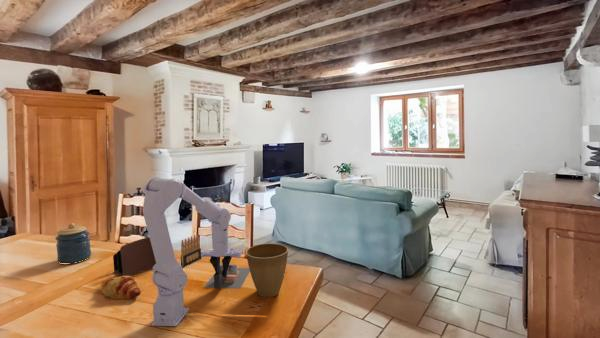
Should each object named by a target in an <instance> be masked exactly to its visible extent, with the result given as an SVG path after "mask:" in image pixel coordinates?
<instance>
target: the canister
mask: <svg viewBox="0 0 600 338" xmlns="http://www.w3.org/2000/svg"><path fill="white" fill-rule="evenodd" d="M56 234H57V236H55V241H56V245H55V247H56V251H57V252H56V253H57V258H56V259H57V262H58V263H59V262H60V263H75V262H79V261H82V260H85V259H87V258H89V257H90V256H91V257H92V250H91V242H90V241H91V239H90V238H89V237H90V236H89V235H90V231H88V230H87V227H86V226H83V225H76V224H75V223H74V222H70V223H69V224H68V225H67V226H66V227H62V228H60V230H59V231H57V232H56ZM91 257H90V258H91ZM90 258H89V259H90ZM87 260H88V259H87ZM85 261H86V260H85ZM75 264H76V263H75Z"/></svg>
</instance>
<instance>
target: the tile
mask: <svg viewBox="0 0 600 338" xmlns="http://www.w3.org/2000/svg"><path fill="white" fill-rule="evenodd" d="M238 276H239V271H237V275H228V276H227V279H226V280H225V283H234V282H235V280H236V279H237V277H238Z"/></svg>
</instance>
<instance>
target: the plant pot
mask: <svg viewBox="0 0 600 338" xmlns="http://www.w3.org/2000/svg"><path fill="white" fill-rule="evenodd" d="M245 254H246V260H247V266H248V268H249V269H250V272H249V273H250V276H251V278H252V282H253V284H254V288H255V289H256V292H257V294H258V295H259V296H261V297H264V298H271V297H273V298H274V297H277V296H278V294H279V293H280V291H281V288H282V284H283V281H284V278H285V272H286V269H287V261H288V254H289V248H288V247H287V246H286V245H284V244H281V243H270V242H269V243H261V244H256V245H253V246H251V247H248V248H247V249H246V250H245Z"/></svg>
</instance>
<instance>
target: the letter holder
mask: <svg viewBox="0 0 600 338" xmlns="http://www.w3.org/2000/svg"><path fill="white" fill-rule="evenodd" d="M112 260H113V272H114V273H116V274H117V275H118V276H119V277H122V276H131V277H132V276H134V275H137V274H140V273H143V272H146V271H149V269H150V270H153V266H154V265H155V264H156V260H155V256H154V252H153V249H152V245H151V241H150V237H149V236H148V237H143V238H141V239H137V240H134V241H132V242H129V243H127V244H124V245H122V246H121V247H120V249H118V250H117V252H116V253H114V254H113V255H112Z"/></svg>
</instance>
